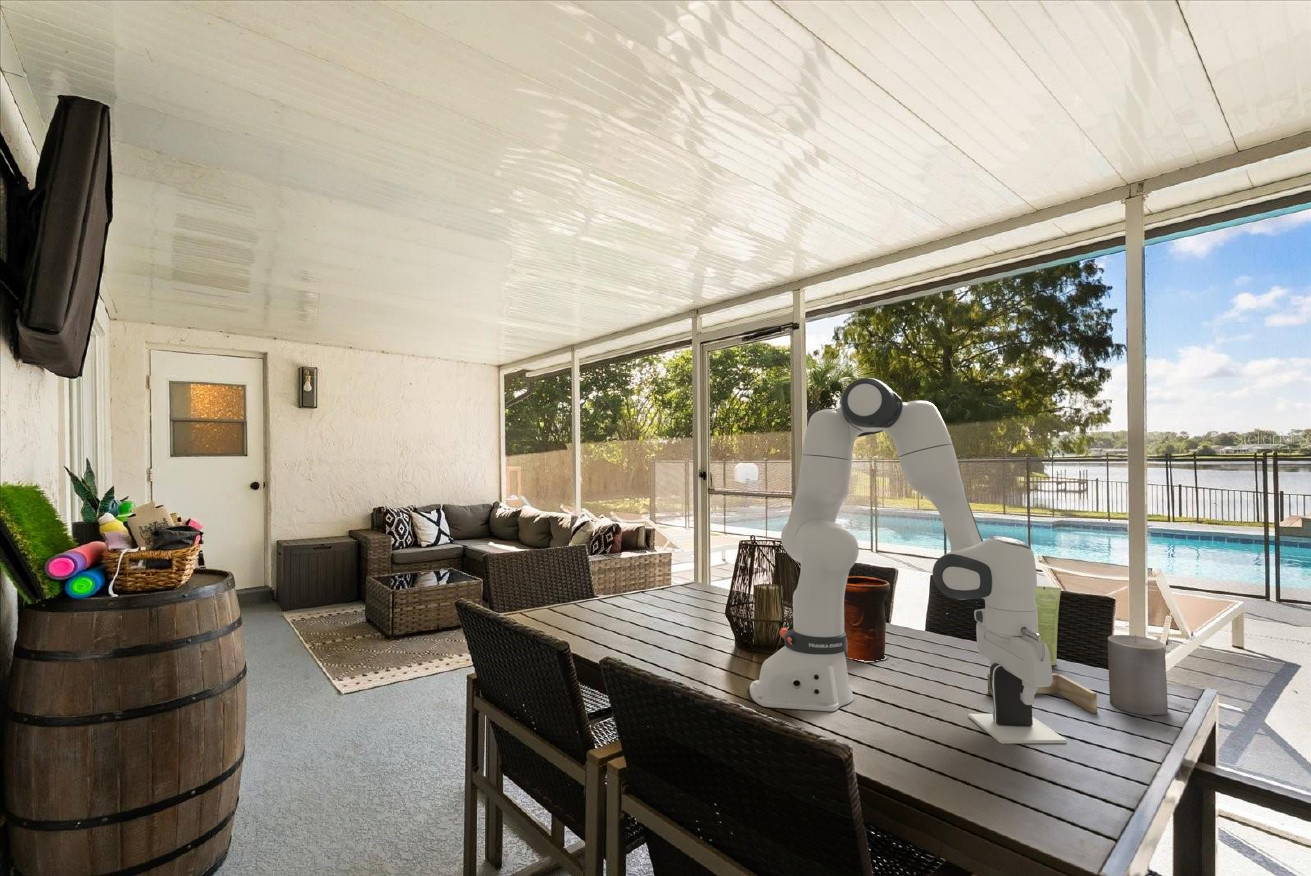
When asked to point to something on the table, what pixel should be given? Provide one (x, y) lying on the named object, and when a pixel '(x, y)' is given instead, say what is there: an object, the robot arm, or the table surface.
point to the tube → (1048, 617)
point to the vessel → (865, 617)
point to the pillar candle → (1137, 674)
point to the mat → (1017, 731)
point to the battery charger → (1008, 698)
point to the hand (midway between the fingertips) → (1013, 694)
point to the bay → (1068, 691)
